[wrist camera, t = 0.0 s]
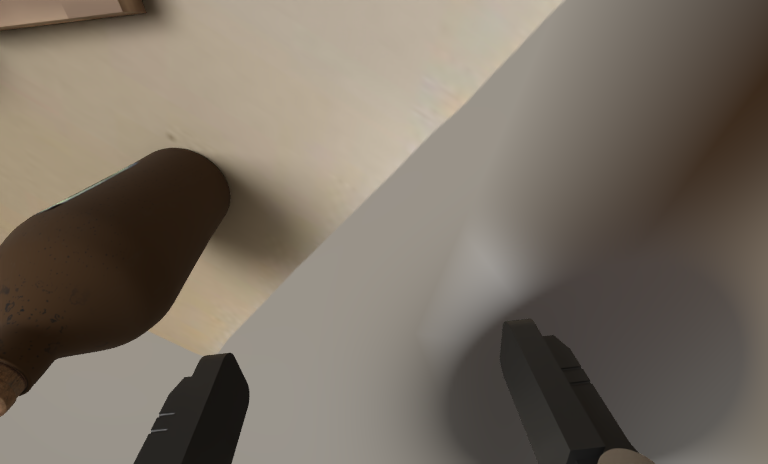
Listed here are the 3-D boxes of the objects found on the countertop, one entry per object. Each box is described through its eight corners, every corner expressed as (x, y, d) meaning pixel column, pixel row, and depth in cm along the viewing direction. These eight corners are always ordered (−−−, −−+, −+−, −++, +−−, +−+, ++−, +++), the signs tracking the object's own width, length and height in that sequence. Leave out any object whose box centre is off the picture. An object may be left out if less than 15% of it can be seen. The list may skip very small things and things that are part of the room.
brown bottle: (253, 178, 38) (117, 379, 17) (213, 246, 42) (62, 478, 21) (152, 119, 35) (-187, 282, 13) (119, 200, 39) (-181, 424, 17)
